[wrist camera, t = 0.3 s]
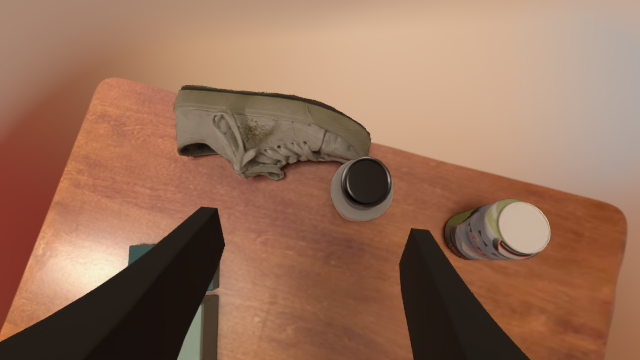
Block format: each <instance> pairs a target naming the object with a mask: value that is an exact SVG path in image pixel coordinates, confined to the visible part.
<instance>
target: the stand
mask: <svg viewBox="0 0 640 360" xmlns="http://www.w3.org/2000/svg"><path fill="white" fill-rule="evenodd" d="M155 245H156V244H151V245H132V246H130V247H129V261H128V266H129V265H130V264H131V263H133V262H134V261H135V260H137V259H138V258H139V257H141V256H142V255H143V254H145V253H146V252H147V251H148V250H150V249H151V248H152V247H153V246H155ZM218 287H219V265H218V268H217V271H216V273H215V275H214V277H213V279H212V282H211V284H210V286H209V288H208V290H207V291H213V290H215V289H216V288H218ZM217 328H218V295H205V296H204V298H203V301H202V303H201V305H200V307H199V309H198V311H197V313H196V315H195V317H194V319H193V322H192V324H191V326H190V328H189V330H188V333H187V335H186V337H185V340H184V342H183V345H182V348H181V351H180V353H179V356H178V359H177V360H217Z"/></svg>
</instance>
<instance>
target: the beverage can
mask: <svg viewBox="0 0 640 360" xmlns="http://www.w3.org/2000/svg"><path fill="white" fill-rule="evenodd" d="M445 239H446V243H447V245H448V247H449V248H450V250H451V251H452V252H453V253H454V254H455V255H457V256H458V257H460V258H463V259H466V260H524V259H529V258H531V257H533V256H535V255H537V254H538V253H539V252H540V251H541V250H542V249H543V248H544V247H545V246H546V245H547V244H548V241H549V239H550V226H549V223H548V220H547V218H546V217H545V215H544V214H543V213H542V212H541V211H540V210H539V209H538V208H537V207H535V206H533V205H531V204H529V203H525V202H522V201H520V200H515V199H505V200H501V201H498V202H494V203H491V204H488V205H485V206H482V207H479V208H476V209H473V210H469V211H466V212H463V213H460V214H457V215H455V216H453V217H452V218H451V219H450V220H449V221H448V223H447V225H446V228H445Z"/></svg>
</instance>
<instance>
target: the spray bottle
mask: <svg viewBox="0 0 640 360" xmlns="http://www.w3.org/2000/svg"><path fill="white" fill-rule="evenodd" d="M393 194H394V187H393V181H392V178H391V175H390V173H389V170H388V169H387V167H386V166H385V165H384V164H383V163H382V162H381V161H379V160H378V159H375V158H372V157H360V158H357V159H354V160H351V161H349V162H347V163H345V164H344V165H342V166H341V167H340V168H339V169H338V170H337V171H336V173H335V175H334V176H333V179H332V182H331V197H332V201H333V203H334V206H335V208H336V210H337V212H338V213H339V214H340V216H342V217H343V218H344V219H346V220H348V221H352V222H361V221H369V220H372V219H375V218H377V217H379V216H380V215H382V214H383V213H384V212H385V211H386V210H387V209H388V207H389V206H390V204H391V202H392V199H393Z"/></svg>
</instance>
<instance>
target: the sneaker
mask: <svg viewBox="0 0 640 360" xmlns="http://www.w3.org/2000/svg"><path fill="white" fill-rule="evenodd" d="M173 110H174V113H175V120H176V136H177V151H178V154H179V155H182V156H187V157H189V156H198V155H207V154H220V155H221V156H223V157H224V158H226V159H227V160H229V161H230V162H232V163H233V166H234V172H235V173H236V174H239V175H240V176H241V177H242V178H245V179H248V178H249V177H250V176H256V175H258V174H261V175H265V176H268V177H269V178H271V179H274V180H280V179H282V178H283V177H284V171H283V170H282V172H281V170H280V168H281V167H282V166H284V165H285V164H286V163H287V162H289V163H294V162H296V161H297V160H301V161H307V160H312V161H316V162H318V161H328V162H329V161H338V162H341V163H347V162H349V161H351V160H354V159H357V158H360V157H367V155H368V152H369V148H370V143H371V138H370V133H369V132H368V131H367V130H366V128H364V127H363V126H362V125H361V124H360V123H358V122H357V121H355V120H353V119H352V118H350V117H348V116H347V115H345V114H343V113H342V112H340V111H338V110H336V109H335V108H333V107H331V106H329V105H326V104H324V103H322V102H319V101H316V100H312V99H306V98H302V97H298V96H295V95H284V94H279V93H264V92H261V93H258V92H251V91H234V90H226V89H217V88H211V87H206V86H195V85H185V86H183V87H182V88H181V90H179V92H178V95H177V97H176V99H175V103H174V109H173ZM274 164H276V165H274ZM267 172H274V173H279V175H277V174H268V173H267Z"/></svg>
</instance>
